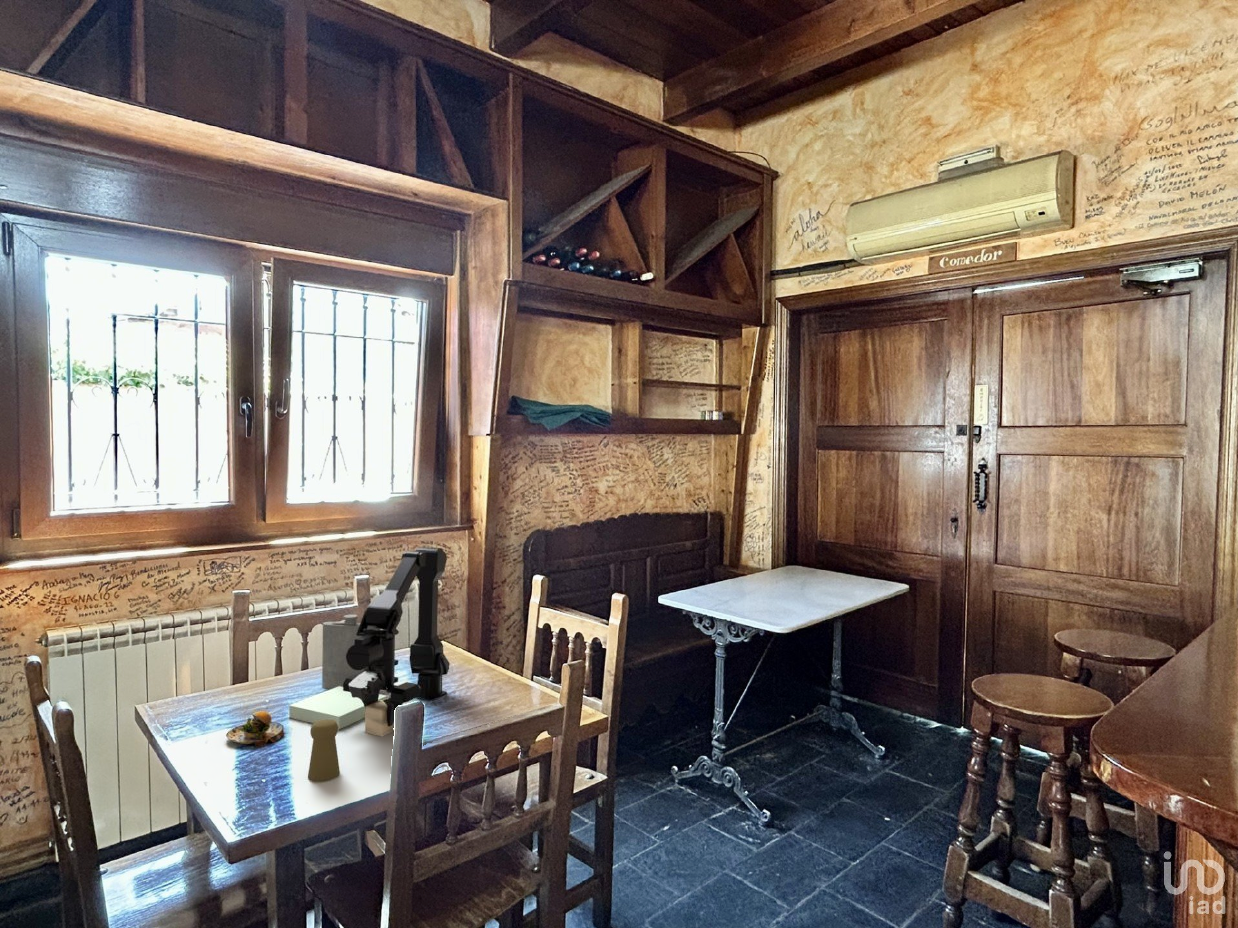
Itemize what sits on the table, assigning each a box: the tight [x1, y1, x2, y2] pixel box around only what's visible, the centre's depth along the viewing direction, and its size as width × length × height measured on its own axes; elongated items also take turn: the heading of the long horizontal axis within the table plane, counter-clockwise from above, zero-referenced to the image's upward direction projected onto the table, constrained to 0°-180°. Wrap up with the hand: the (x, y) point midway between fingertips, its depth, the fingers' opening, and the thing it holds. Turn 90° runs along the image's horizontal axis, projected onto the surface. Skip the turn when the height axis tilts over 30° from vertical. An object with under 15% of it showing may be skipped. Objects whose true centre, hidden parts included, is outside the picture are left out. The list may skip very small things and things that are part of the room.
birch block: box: [364, 700, 394, 737], centre depth 172 cm, size 5×5×6 cm
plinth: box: [288, 686, 388, 730], centre depth 183 cm, size 16×16×3 cm
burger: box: [225, 705, 285, 748], centre depth 167 cm, size 12×12×8 cm
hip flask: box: [321, 614, 381, 690], centre depth 201 cm, size 16×4×20 cm, turn 86°
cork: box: [307, 719, 341, 783], centre depth 149 cm, size 6×6×11 cm
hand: (381, 723), depth 172 cm, fingers closed on birch block, 5 cm apart
